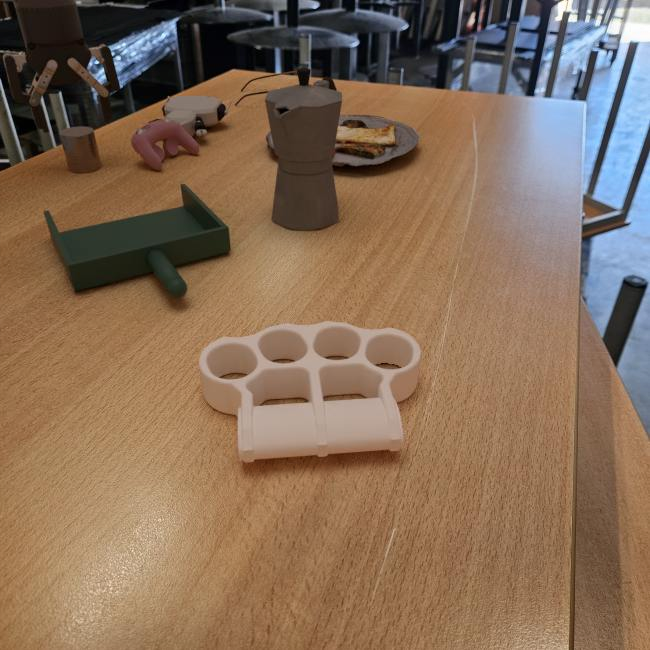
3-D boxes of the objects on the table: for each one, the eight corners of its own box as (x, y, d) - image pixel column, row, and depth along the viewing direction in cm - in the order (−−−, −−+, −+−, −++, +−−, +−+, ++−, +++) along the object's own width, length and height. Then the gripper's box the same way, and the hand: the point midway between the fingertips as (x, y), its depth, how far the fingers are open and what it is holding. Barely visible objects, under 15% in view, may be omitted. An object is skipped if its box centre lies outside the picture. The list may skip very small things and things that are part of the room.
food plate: (244, 163, 90) (242, 140, 88) (297, 121, 108) (296, 102, 106) (399, 184, 84) (401, 160, 82) (428, 136, 101) (431, 116, 99)
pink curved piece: (186, 159, 95) (166, 117, 93) (204, 151, 92) (184, 108, 90) (143, 178, 88) (120, 134, 86) (160, 170, 86) (137, 124, 83)
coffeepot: (318, 244, 68) (318, 85, 58) (249, 229, 71) (237, 76, 61) (362, 196, 80) (369, 56, 69) (301, 185, 83) (299, 50, 72)
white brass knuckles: (195, 476, 40) (207, 348, 52) (444, 457, 42) (401, 336, 54) (188, 443, 38) (202, 317, 50) (451, 424, 40) (405, 307, 52)
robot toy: (209, 152, 96) (235, 119, 108) (206, 125, 93) (232, 94, 105) (141, 147, 98) (173, 115, 109) (135, 120, 95) (169, 91, 106)
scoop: (51, 237, 69) (43, 211, 67) (188, 208, 76) (184, 183, 74) (94, 335, 53) (85, 304, 51) (261, 287, 60) (259, 257, 58)
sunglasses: (307, 108, 115) (305, 82, 112) (234, 113, 116) (230, 88, 113) (308, 90, 127) (306, 66, 124) (242, 95, 127) (238, 71, 124)
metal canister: (72, 175, 85) (62, 138, 82) (65, 165, 88) (56, 129, 85) (105, 169, 87) (96, 133, 84) (97, 159, 90) (89, 124, 87)
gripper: (94, -6, 80) (118, 113, 90) (-19, 1, 74) (20, 127, 84) (107, 0, 75) (131, 126, 84) (-13, 8, 69) (28, 142, 79)
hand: (76, 126), depth 84 cm, fingers open, 8 cm apart
